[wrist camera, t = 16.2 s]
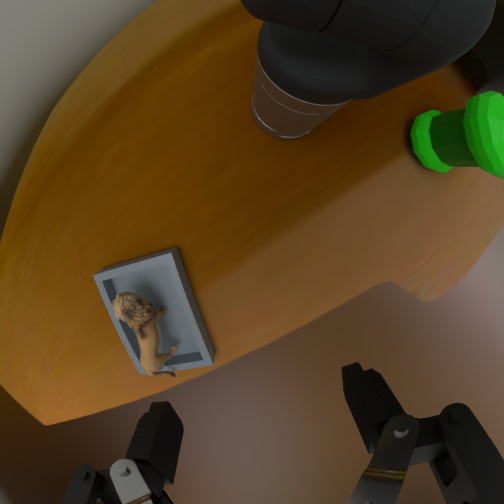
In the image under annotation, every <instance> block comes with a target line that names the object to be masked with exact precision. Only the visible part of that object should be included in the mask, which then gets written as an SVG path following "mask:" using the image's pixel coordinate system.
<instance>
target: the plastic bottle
mask: <svg viewBox="0 0 504 504" xmlns="http://www.w3.org/2000/svg"><path fill="white" fill-rule="evenodd" d="M410 137H411V142H412V148H413V152H414V153H415V154H416V156H417V157H418V159H419V160H420V161H421V163H422V164H423V166H425V167H426V168H429V169H432V170H434V171H437V172H440V173H445V172H447V171H449V170H450V169H452V168H454V167H480V168H481V169H483V170H484V171H486V172H488V173H490V174H491V175H493V176H496V177H498V178H502V179H504V97H503V96H502V95H501V94H500V93H497V92H493V91H489V92H485V93H482V94H480V95H477V96H474V97H472V98H471V99H469V100H468V101H467V104H466V108H462V109H458V110H454V111H450V112H446V113H441V112H439V111H436V110H431V111H428V112H425V113H423V114H420V115H418V116H417V117H416V118H415V120H414V123H413V126H412V129H411V131H410Z"/></svg>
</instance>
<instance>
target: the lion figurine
mask: <svg viewBox="0 0 504 504" xmlns="http://www.w3.org/2000/svg"><path fill="white" fill-rule="evenodd" d="M112 306H113V309H114V311H115V316H116V318H117V319H118V320H120V319H121V320H123V321H124V322H126V323H127V324H128V326H129V327H130V328H133V329H134V330H135V332H136V335H137V340H138V344H139V347H140V365H141V367H142V369H143V370H144V371H146V372H147V373H148V374H149V375H151V376H159V375H162V374H169V375H171V376H173V377H176V376H175V374H174V373H173V372H171V371H159V370H162V369H163V367H164V362H165V361H166V360H169V359H170V358H171V357H172V355H173V354H174V353H175V352H176V349H177V347H176V345H170V346H169V353H168V354H165V353H162V354H159V351H158V348H159V332H158V329H157V326H156V323H157V321H158V320H159V319H160V318H161V317H162V316H164V315H165V314H166V312H167V308H166V307H165V306H161V307H160V310H159V311H155V310H154V306H153V305H152V304H150V301H149V300H147V299H145V298H143V297H141V296H139V295H137V294H136V293H132V292H129V291H125V292H123V293H120V294H117V295H116V299H115V300H113V301H112ZM156 371H159V372H156Z"/></svg>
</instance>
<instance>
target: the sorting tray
mask: <svg viewBox="0 0 504 504" xmlns="http://www.w3.org/2000/svg"><path fill="white" fill-rule="evenodd" d="M93 276H94V279H95V281H96V284H97V286H98V289H99V291H100V294H101V296H102V299H103V301H104V303H105V306H106V308H107V310H108V312H109V315H110V317H111V319H112V321H113V323H114V326H115V328H116V330H117V332H118V334H119V336H120V338H121V340H122V342H123V344H124V346H125V348H126V350H127V352H128V353H129V355H130V357H131V359H132V361H133V363H134V365H135V366H136V368H137V370H138V372H139V373H140V375H142V374H148V373H147V372H146V371H144V370H143V369H142V367H141V365H140V347H139V344H138V340H137V335H136V332H135V330H134V329H133V328H130V327H129V326H128V324H127V323H126V322H124V321H123V320H121V319H120V320H118V319H117V318H116V316H115V311H114V309H113V306H112V301H113V300H115V299H116V295H117V294H120V293H123V292H125V291H129V292H132V293H136V294H137V295H139V296H141V297H143V298H145V299H147V300H149V301H150V304H152V305H153V306H154V310H155V311H159V310H160V307H161V306H165V307H166V308H167V312H166V314H165V315H164V316H162V317H161V318H160V319H159V320H158V321H157V323H156V326H157V329H158V332H159V348H158V351H159V354H162V353H165V354H168V353H169V346H170V345H176V347H177V349H176V352H175V353H174V354H173V355H172V357H171V358H170V359H169V360H166V361H165V362H164V367H163V369H162V370H159V371H177V370H184V369H191V368H197V367H203V366H209V365H214V358H215V350H214V347H213V345H212V342H211V340H210V337H209V335H208V332H207V329H206V327H205V324H204V322H203V319H202V316H201V314H200V311H199V308H198V305H197V303H196V300H195V297H194V294H193V291H192V289H191V286H190V283H189V280H188V277H187V274H186V271H185V268H184V265H183V262H182V259H181V256H180V253H179V250H178V247H174V248H171V249H167V250H164V251H160V252H157V253H153V254H150V255H146V256H143V257H139V258H136V259H133V260H129V261H126V262H122V263H119V264H116V265H112V266H109V267H106V268H103V269H102V270H100V271H99V272H97V273H96V274H94V275H93ZM159 371H156V372H159Z"/></svg>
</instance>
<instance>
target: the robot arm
mask: <svg viewBox="0 0 504 504" xmlns="http://www.w3.org/2000/svg"><path fill="white" fill-rule="evenodd" d="M241 2H242V4H243V6H244V7H245V8H246V10H247V11H248V12H249V13H250V14H251V15H252V16H254V17H255V18H257V19H260V20H263V21H264V23H263V25H262V27H261V30H260V33H259V38H258V50H257V59H256V69H255V78H254V88H253V96H252V114H253V118H254V120H255V122H256V124H257V125H258V126H259V127H260V129H261V130H263V131H264V132H265V133H266V134H268V135H270V136H272V137H275V138H278V139H284V140H290V139H296V138H299V137H302V136H304V135H305V134H307V133H309V132H310V131H311V130H312V129H313V128H315V127H316V126H317V125H319V124H320V123H321V122H323V121H324V120H325V119H327V118H328V117H329V116H331V115H332V114H333V113H335V112H336V111H337V110H339V109H340V108H341V107H343V106H344V105H345V104H347V103H348V102H349V101H351V100H352V99H368V98H373V97H376V96H379V95H381V94H383V93H385V92H387V91H390V90H392V89H394V88H396V87H399V86H401V85H403V84H405V83H408V82H410V81H413V80H415V79H418V78H420V77H422V76H425V75H427V74H429V73H432V72H434V71H436V70H438V69H440V68H442V67H444V66H446V65H448V64H450V63H451V62H453V61H455V60H456V59H458V58H459V57H460V56H462V55H463V54H465V53H466V52H467V51H468V50H470V49H471V48H472V47H473V46H474V45H475V44H476V43H477V42H478V40H479V39H480V38H481V37H482V35H483V34H484V33H485V31H486V30H487V28H488V26H489V24H490V22H491V20H492V17H493V13H494V9H495V3H496V0H241ZM342 380H343V391H344V395H345V399H346V402H347V404H348V406H349V409H350V411H351V413H352V416H353V418H354V420H355V423H356V425H357V427H358V430H359V432H360V434H361V437H362V439H363V442H364V444H365V446H366V449H367V451H368V454H371V453H374V454H373V456H372V458H371V461H370V463H369V465H368V467H367V469H366V470H365V471H364V472H363V474H362V476H361V477H360V479H359V481H358V483H357V486H356V487H355V489H354V491H353V493H352V495H351V497H350V498H349V500H348V502H347V504H395V502H396V500H397V497H398V495H399V493H400V490H401V487H402V485H403V482H404V479H405V476H406V472H407V469H408V466H410V465H415V464H420V463H424V462H428V463H429V465H430V467H431V469H432V471H433V474H434V476H435V478H436V481H437V483H438V485H439V488H440V490H441V492H442V495H443V497H444V500H445V502H446V504H504V460H503V458H502V456H501V455H500V453H499V452H498V450H497V448H496V447H495V445H494V444H493V442H492V441H491V439H490V438H489V436H488V434H487V433H486V431H485V430H484V429H483V427H482V426H481V424H480V423H479V421H478V420H477V418H476V417H475V416H474V414H473V413H472V411H471V410H470V408H469V407H467V406H466V405H465V404H462V403H454V404H450V405H448V406H446V407H445V408H444V409H443V410H442V412H441V413H440V415H437V416H433V417H428V418H421V419H419V418H414V417H413V416H411V415H408V414H406V413H405V411H404V410H403V408H402V407H401V405H400V403H399V402H398V400H397V399H396V397H395V396H394V394H393V392H392V391H391V390H390V388H389V387H388V385H387V383H386V382H385V380H384V379H383V377H382V376H381V374H380V373H378V372H376V371H375V370H373V369H369V370H366V371H363V369H362V367H361V365H360V364H359V363H358V362H355V363H352V364H350V365H346V366H344V367H342ZM183 431H184V428H183V424H182V421H181V420H180V418H179V417H178V415H177V414H176V412H175V410H174V409H173V407H172V406H171V404H170V403H169V402H168V401H165V402H153V403H152V404H151V406H150V409H149V412H147V413H145V414H144V415H143V416H142V417H141V418H140V419H139V421H138V424H137V426H136V429H135V432H134V436H133V437H132V440H131V442H130V445H129V448H128V451H127V453H126V456H125V459H122V460H119V461H117V462H116V463H114V464H113V465H112V467H111V469H106V470H99V471H97V470H95V468H93V467H92V466H91V465H88V464H85V465H81V466H79V467H78V468H77V469H76V470H75V471H74V473H73V476H72V478H71V481H70V484H69V486H68V489H67V492H66V495H65V497H64V500H63V503H62V504H96V501H97V500H99V501H100V503H99V504H174V503H173V502H172V500H171V499H170V497H169V496H168V494H167V493H166V491H165V490H164V489H163V488H164V484H173V483H174V477H175V473H176V467H177V462H178V457H179V452H180V446H181V442H182V437H183Z"/></svg>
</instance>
